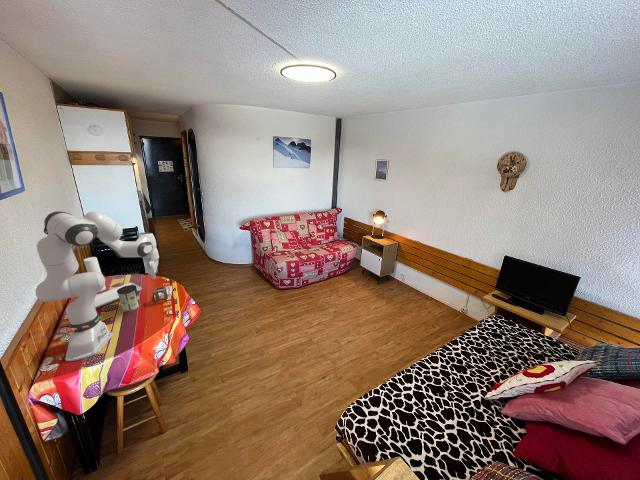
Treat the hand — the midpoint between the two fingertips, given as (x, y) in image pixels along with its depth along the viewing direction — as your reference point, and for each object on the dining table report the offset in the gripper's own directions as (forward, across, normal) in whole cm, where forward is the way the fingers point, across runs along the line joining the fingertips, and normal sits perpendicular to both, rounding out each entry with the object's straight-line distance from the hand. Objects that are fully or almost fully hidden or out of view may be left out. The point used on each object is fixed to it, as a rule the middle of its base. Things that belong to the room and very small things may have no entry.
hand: (155, 275), depth 172 cm
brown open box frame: (+20, -1, -1) cm, 20 cm away
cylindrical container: (+20, +38, +43) cm, 61 cm away
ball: (+19, +9, -1) cm, 21 cm away
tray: (+20, +19, +31) cm, 42 cm away
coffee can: (+20, 0, +17) cm, 26 cm away
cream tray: (+20, +9, -1) cm, 22 cm away
